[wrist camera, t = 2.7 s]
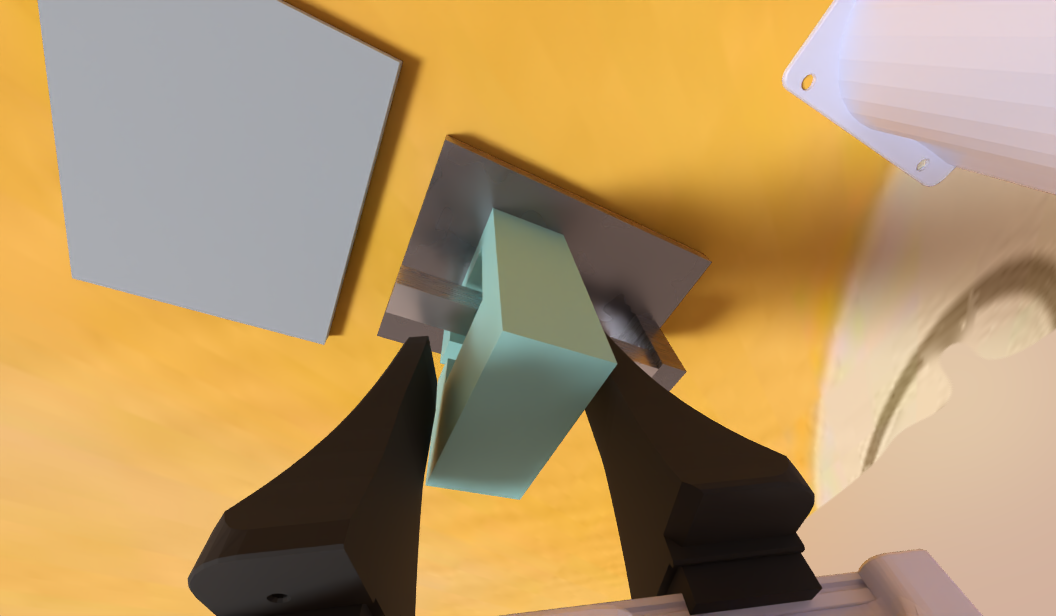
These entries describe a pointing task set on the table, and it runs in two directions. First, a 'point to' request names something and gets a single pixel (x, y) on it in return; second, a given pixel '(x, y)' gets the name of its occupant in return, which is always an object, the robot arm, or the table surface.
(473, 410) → the c link
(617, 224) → the stand
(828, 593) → the robot arm
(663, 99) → the table surface
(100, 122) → the mat
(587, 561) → the table surface
